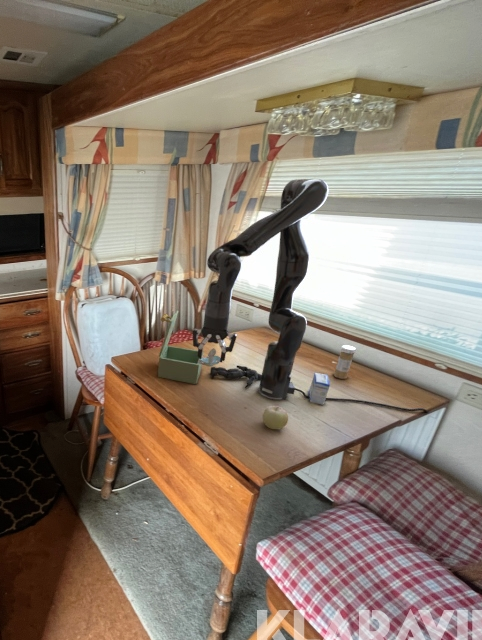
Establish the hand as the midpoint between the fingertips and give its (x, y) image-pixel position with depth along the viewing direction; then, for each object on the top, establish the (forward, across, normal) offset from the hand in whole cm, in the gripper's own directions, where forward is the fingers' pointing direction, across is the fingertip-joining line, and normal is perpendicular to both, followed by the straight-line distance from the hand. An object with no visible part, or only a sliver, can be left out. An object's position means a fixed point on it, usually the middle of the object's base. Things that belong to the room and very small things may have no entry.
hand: (210, 359), depth 122 cm
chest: (+19, -13, +21) cm, 31 cm away
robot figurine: (+19, +9, +26) cm, 33 cm away
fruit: (+19, +22, -3) cm, 29 cm away
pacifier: (+2, -1, 0) cm, 2 cm away
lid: (+1, -18, +21) cm, 28 cm away
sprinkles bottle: (+20, +49, +44) cm, 69 cm away
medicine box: (+19, +37, +22) cm, 47 cm away
